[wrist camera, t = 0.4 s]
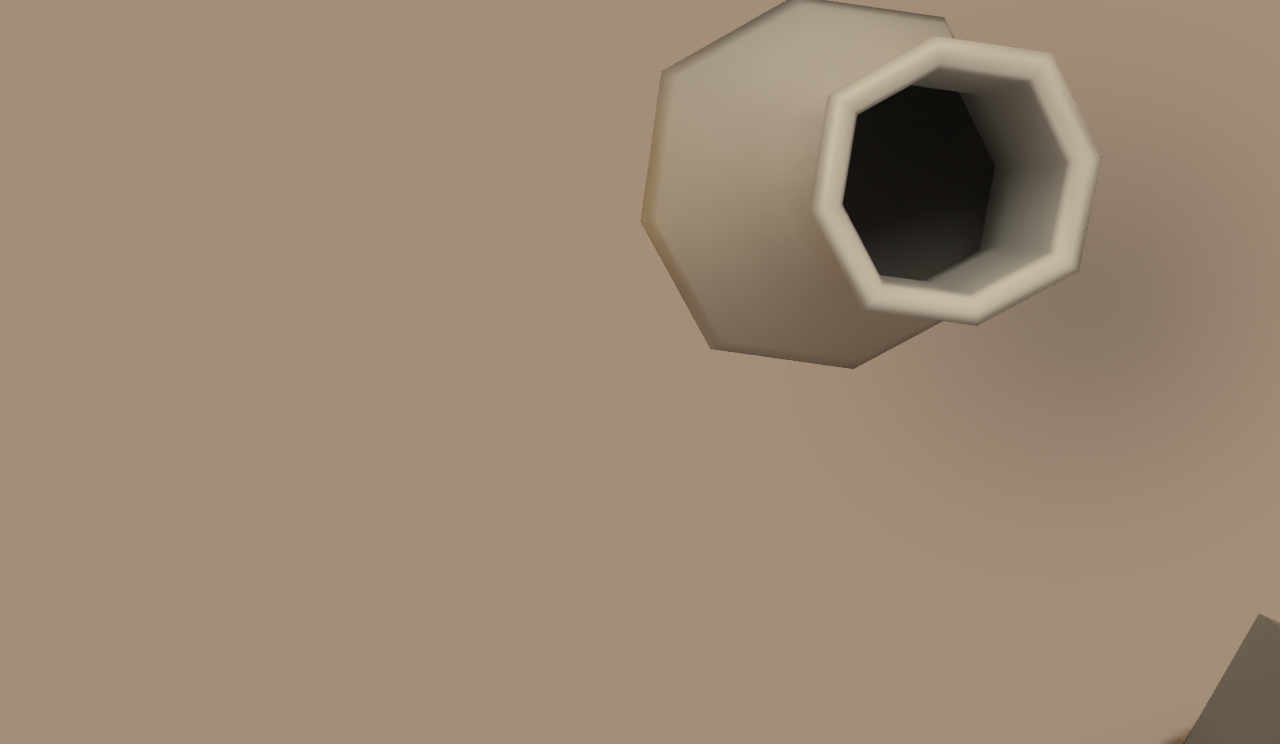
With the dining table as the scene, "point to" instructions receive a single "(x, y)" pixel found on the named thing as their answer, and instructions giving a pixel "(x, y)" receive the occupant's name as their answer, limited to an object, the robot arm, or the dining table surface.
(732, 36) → the flask
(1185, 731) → the dining table surface
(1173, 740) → the dining table surface
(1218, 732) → the dock
